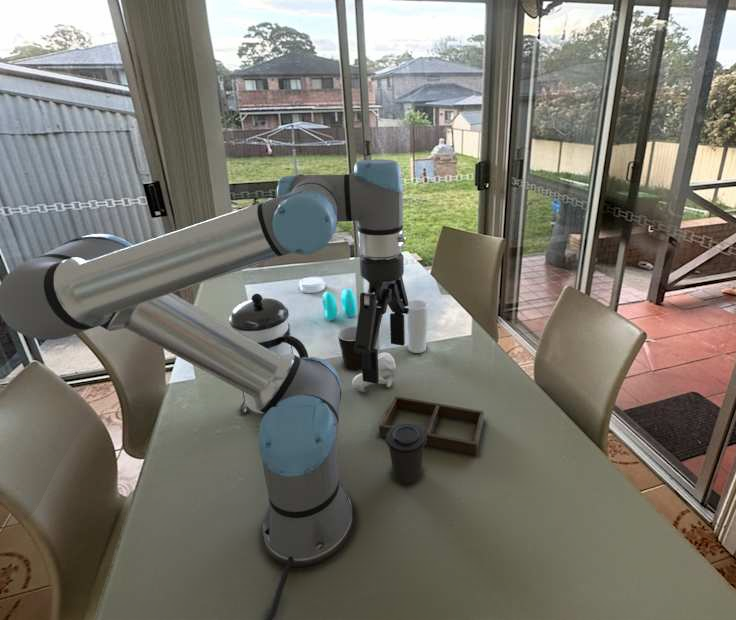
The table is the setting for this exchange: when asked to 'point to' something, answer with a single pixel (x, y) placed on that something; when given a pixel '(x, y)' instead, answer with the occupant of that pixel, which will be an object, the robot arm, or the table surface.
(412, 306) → the drinking glass
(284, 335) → the coffee press
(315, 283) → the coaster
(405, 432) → the coffee cup
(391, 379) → the white lumpy figurine
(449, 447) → the frame
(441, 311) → the table surface
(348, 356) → the coffee mug
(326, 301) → the cyan wheel pair
